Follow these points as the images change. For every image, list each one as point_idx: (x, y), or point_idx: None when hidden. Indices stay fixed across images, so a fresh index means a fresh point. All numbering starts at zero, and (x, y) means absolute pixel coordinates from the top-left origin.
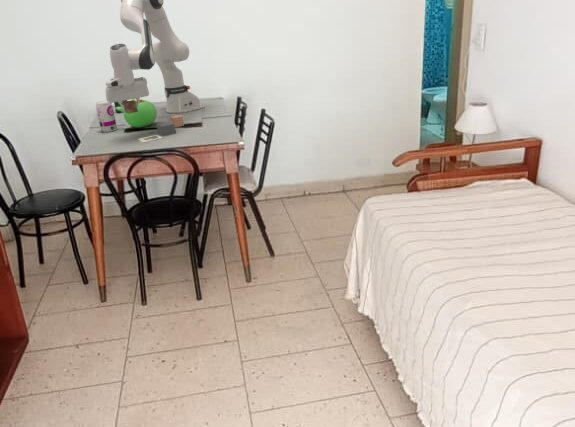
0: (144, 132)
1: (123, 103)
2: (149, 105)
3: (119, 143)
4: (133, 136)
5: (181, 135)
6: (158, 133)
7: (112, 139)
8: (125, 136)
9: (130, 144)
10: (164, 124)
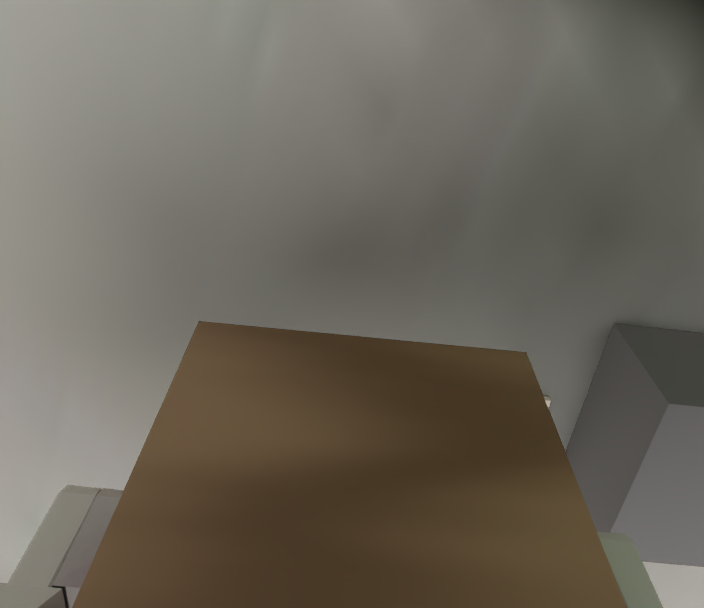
0: (540, 102)
1: (96, 606)
2: None
3: (65, 354)
4: (316, 186)
5: (678, 575)
6: (609, 336)
7: (5, 68)
8: (224, 71)
9: None
10: (701, 510)
